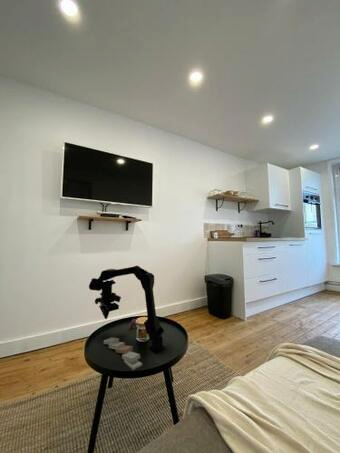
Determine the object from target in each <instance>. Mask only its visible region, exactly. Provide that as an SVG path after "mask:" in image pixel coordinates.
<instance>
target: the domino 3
mask: <svg viewBox="0 0 340 453" xmlns="http://www.w3.org/2000/svg"><path fill="white" fill-rule="evenodd" d="M133 348H134V347H133V346H132V345H125V346H124V347H121V348H119V349H115V353H116V354H117V353H118V354H122V355H123V354H126V353H128V352H130V351H131V352H132V351H133V350H134V349H133Z"/></svg>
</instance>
